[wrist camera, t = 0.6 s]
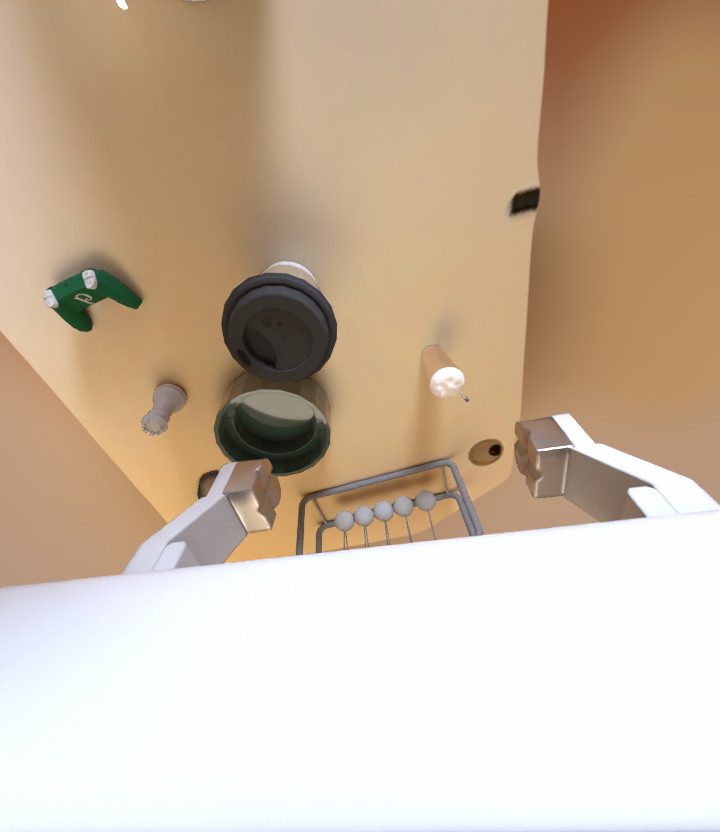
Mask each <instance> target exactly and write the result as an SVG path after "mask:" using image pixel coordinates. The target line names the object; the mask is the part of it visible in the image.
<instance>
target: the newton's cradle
mask: <svg viewBox="0 0 720 832" xmlns="http://www.w3.org/2000/svg"><path fill="white" fill-rule="evenodd" d="M443 466H448V467H450V468H451V471H452V473H453V476H454V478H455V481H456V483H457V486H458V488H459V491H460V493H461V496H462V498H461V496H460V495H459V494H457V493H455V492H448V488H447V483H446V478H445V473H444V468H443ZM438 467H441V469H442V474H443V478H444V483H445V488H446V493H443V494H439V495H435V496H434V494H433V493H432V492H430V491H427V490H424V491H421V492H419V493H418V494H417V496H416V500H415V501H412V500H411V499H410V498H409V497H406V496H400V497H398V498H397V499H396V500H395V501H394V505H393V506H392V505H391V504H390V503H389V502H387V501H380V502H378V503H377V504H376V505H375V507H374V511H372V510H371V509H370V508H369V507H367V506H361V507H359V508H357V509H356V511H355V513H354V516H353V515H352V514H351V513H350V512H348V511H341V512H339V513H338V514H337V515H336V517H335V521H331V522H326V520H325V519H324V517H323V515H322V513H321V511H320V510H319V508H318V506H317V504H316V503H315V501H314V499H317V498H321V497H325V496H329V495H333V494H337V493H341V492H344V491H348V490H352V489H356V488H360V487H364V486H368V485H372V484H376V483H379V482H383V481H387V480H391V479H395V478H399V477H403V476H407V475H410V474H414V473H418V472H422V471H426V470H430V469H434V468H438ZM447 498H454V499H456V500H457V503H458V505H459V508H460V511H461V513H462V516H463V519H464V521H465V524H466V527H467V529H468V532H469V535H470V537H471V536H480V535H483V529H482V526H481V524H480V522H479V519H478V517H477V514H476V512H475V510H474V507H473V505H472V502H471V500H470V497H469V495H468V493H467V490H466V488H465V485H464V483H463V480H462V478H461V476H460V473H459V471H458V468H457V466H456V465H455V463H453V462H452V461H449V460H440V461H436V462H432V463H428V464H424V465H421V466H417V467H413V468H409V469H405V470H401V471H397V472H394V473H390V474H386V475H382V476H378V477H374V478H371V479H367V480H363V481H359V482H355V483H351V484H347V485H344V486H340V487H336V488H332V489H328V490H324V491H321V492H317V493H313V494H309V495H307V496H305V497H304V498H303V499H302V500H301V502H300V504H299V513H298V529H297V544H296V556H297V555H303V538H304V516H305V505H306V503H307V502H309V501H310V500H312V501H313V503H314V505H315V507H316V509H317V510H318V512H319V514H320V516H321V517H322V519H323V521H324V524H322V525H321V526H320V527H319V528H318V530H317V533H316V553H322V532H323V531H324V530H325V529H327V528H330V527H334V526H336V527H337V528H338V529H339V530H340V531H344V550H345V534H346V531H348V530H350V529H351V528H352V527H353V525H354V521H355V522H356V523H357V524H358V525H360V526H364V534H365V530H366V526H368V525H370V524H371V523H372V521H373V519H374V516H375V517H376V518H377V519H378V520H379V521H383V522H385V530H386V529H387V524H386V521H388V520H390V519H391V518H392V516H393V513H394V511H395V512H396V513H397V514H398V515H399V516H402V517H405V518H406V523H407V528H408V533H409V538H410V543H411V542H412V539H411V534H410V530H409V526H408V521H407V517H406V516H408V515H410V514H411V513H412V511H413V508H414V507H415V506H417V507H418V508H419V509H421V510H423V511H428V514H429V511H430V510H432V509H433V508H434V507H435V504H436V501H439V500H443V499H447ZM463 501H464V502H463ZM464 504H465V505H464ZM465 506H466V507H465ZM466 509H467V510H466ZM467 511H468V512H467ZM468 514H469V515H468ZM469 516H470V517H469ZM429 518H430V514H429ZM470 519H471V520H470ZM471 521H472V522H471ZM430 522H431V518H430ZM472 524H473V525H472ZM431 526H432V522H431ZM473 526H474V527H473ZM474 529H475V530H474ZM432 530H433V526H432ZM387 534H388V529H387V530H386V537H387ZM433 535H434V539H435V540H436V538H435V534H434V530H433ZM366 536H367V530H366ZM366 536H365V548H366ZM388 539H389V534H388V538H387V545H388ZM346 543H347V536H346ZM367 543H368V537H367ZM412 543H413V542H412ZM368 544H369V543H368ZM389 544H390V539H389ZM368 548H369V545H368ZM347 550H348V544H347Z"/></svg>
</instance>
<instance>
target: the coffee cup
mask: <svg viewBox="0 0 720 832" xmlns="http://www.w3.org/2000/svg"><path fill="white" fill-rule="evenodd" d="M221 326H222V331H223V337H224V342H225V344H226V346H227V348H228V350H229V351H230V353H231V355H232V357H233V358H234V359H235V360H236V361H237V362H238V363H239V364H240V365H241V366H242V367H243V368H244V369H245V370H247V371H248V372H250V373H252V374H254V375H255V376H257V377H259V378H261V379H264V380H268V381H272V382H294V381H298V380H301V379H305V378H308V377H309V376H311V375H312V374H314V373H316V372H317V371H319V370H320V369H321V368H322V367H323V365H324V364H325V363H326V362H327V361H328V359H329V358H330V356H331V354H332V351H333V348H334V346H335V342H336V340H337V322H336V319H335V316H334V313H333V310H332V307H331V305H330V304H329V302H328V301H327V300H326V298H325V297H324V296H323V294H322V293H321V291H320V289H319V287H318V284H317V282H316V279H315V278H314V277H313V275H312V274H311V272H310V271H308V270H307V269H306V268H305V267H303V266H302V265H299V264H297V263H294V262H279V263H276V264H273V265H271V266H270V267H269V268H267V269H266V270H265V271H264V272H262V273H261V274H260V275H257V276H253V277H250V278H248V279H246V280H245V281H244V282H242V283H241V284H240V285H238V286H237V287H236V288H235V289H233V291H232V293H231V294H230V296H229V298H228V299H227V301H226V303H225V305H224V310H223V316H222V324H221Z"/></svg>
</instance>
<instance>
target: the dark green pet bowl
mask: <svg viewBox="0 0 720 832" xmlns="http://www.w3.org/2000/svg"><path fill="white" fill-rule="evenodd" d="M214 433H215V438H216V443H217V444H218V446H219V448H220V449H221V451H222V452H223V454H224V455H225V456H226V457H227V458H228V459H229V460H231V461H232V462H240V461H248V460H256V459H264V458H267V459H269V460H270V462H271V465H272V467H273V468H272V471H271V473H272V474H273V475H275V476H288V475H293V474H297V473H301V472H303V471H305V470H307V469H309V468H311V467H313V466H314V465H315V464H316V463H317V462H318V461H319V460H320V459H321V458H323V457H324V455H325V453H326V451H327V449H328V447H329V445H330V407H329V404H328V401H327V398H326V395H325V393H324V392H323V391H322V390H321V388H320V387H319V386H318V385H317V384H316V382H314V381H313V380H311V379H310V378H305V379H301V380H298V381H294V382H272V381H268V380H264V379H261V378H259V377H257V376H255V375H254V374H252V373H250V372H247V373H245V374H243V375H242V376H240V377H239V378H237V379H235V380H234V382H233V383H232V384H231V386H230V387H229V388H228V389H227V391H226V393H225V396H224V398H223V401H222V403H221V406H220V409H219V411H218V414H217V417H216V421H215V425H214Z"/></svg>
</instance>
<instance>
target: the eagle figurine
mask: <svg viewBox="0 0 720 832" xmlns="http://www.w3.org/2000/svg"><path fill="white" fill-rule="evenodd" d="M218 473H219V471H217V470H216V471H214V472H213V471H211V472H210V473H207V474H206V475H203V476H202V478H201V479H200V481H199V486H198V487H199V488H198V492H197V494H198V499H201V498H202V497H206V496H207V494H208V492H209V490H210V488H211V487H212V485H213V483H214V481H215V479H216V477H217V475H218Z"/></svg>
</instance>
